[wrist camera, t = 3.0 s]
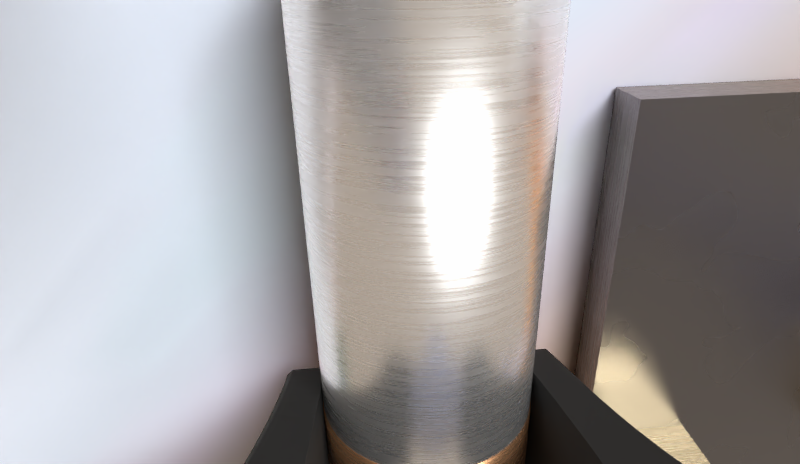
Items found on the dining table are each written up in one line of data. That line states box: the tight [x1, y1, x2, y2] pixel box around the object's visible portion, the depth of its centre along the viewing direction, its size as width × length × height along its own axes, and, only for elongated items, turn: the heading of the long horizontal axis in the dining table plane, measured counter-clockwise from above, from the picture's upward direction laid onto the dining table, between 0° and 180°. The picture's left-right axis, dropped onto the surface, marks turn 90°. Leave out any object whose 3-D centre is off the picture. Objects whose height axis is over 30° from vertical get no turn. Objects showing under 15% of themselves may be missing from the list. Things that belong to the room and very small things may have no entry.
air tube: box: [281, 0, 571, 464], centre depth 12 cm, size 18×4×4 cm, turn 1°
